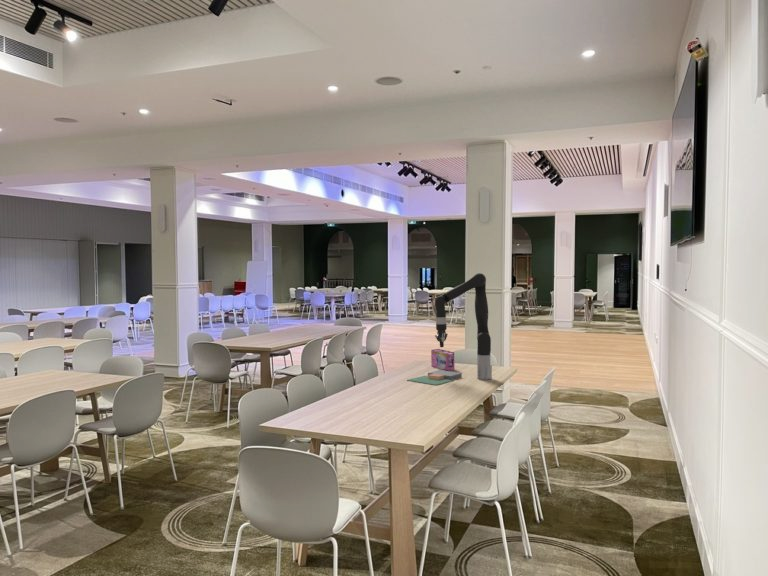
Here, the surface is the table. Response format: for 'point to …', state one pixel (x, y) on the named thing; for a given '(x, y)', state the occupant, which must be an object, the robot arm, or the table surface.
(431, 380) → the green mat
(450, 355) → the gum box
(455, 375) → the gray riser
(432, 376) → the coral tile
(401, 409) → the table surface
